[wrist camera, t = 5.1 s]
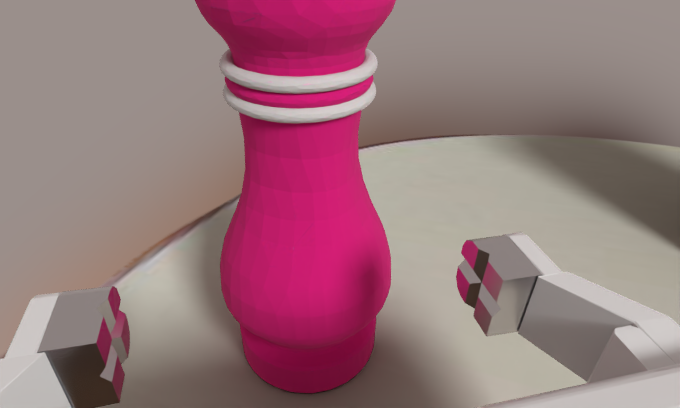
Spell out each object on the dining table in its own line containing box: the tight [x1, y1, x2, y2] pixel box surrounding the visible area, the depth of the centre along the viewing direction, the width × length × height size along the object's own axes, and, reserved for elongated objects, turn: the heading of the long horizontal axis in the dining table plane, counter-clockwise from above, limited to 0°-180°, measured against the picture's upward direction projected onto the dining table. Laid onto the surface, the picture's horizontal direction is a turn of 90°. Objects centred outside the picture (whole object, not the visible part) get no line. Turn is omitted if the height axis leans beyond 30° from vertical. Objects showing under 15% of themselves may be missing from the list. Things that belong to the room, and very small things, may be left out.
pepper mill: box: [195, 0, 396, 393], centre depth 17 cm, size 7×7×20 cm
